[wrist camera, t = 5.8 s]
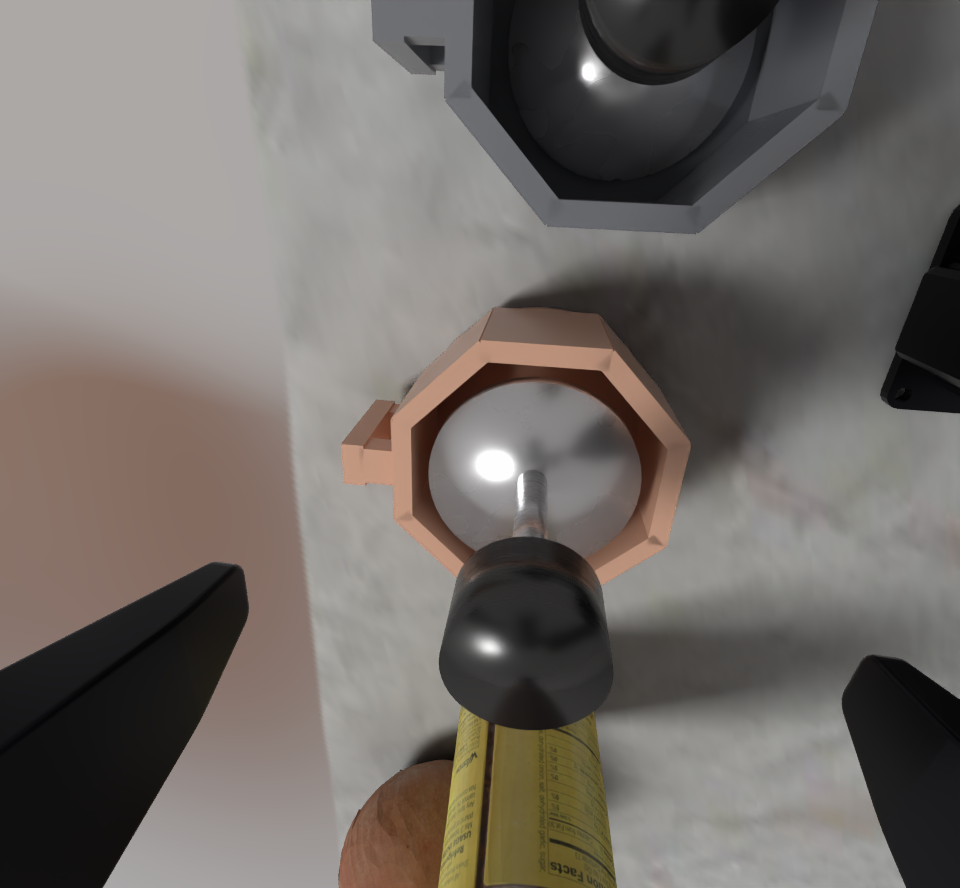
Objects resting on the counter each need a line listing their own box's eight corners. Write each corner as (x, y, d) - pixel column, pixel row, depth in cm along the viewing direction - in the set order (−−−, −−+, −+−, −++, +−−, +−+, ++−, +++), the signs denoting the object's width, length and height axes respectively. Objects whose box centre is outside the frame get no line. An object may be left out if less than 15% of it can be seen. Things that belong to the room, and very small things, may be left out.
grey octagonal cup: (827, -152, 13) (974, -329, 9) (737, 226, 17) (808, 240, 12) (417, -150, 14) (356, -310, 9) (419, 210, 18) (377, 217, 13)
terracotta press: (671, 314, 18) (712, 356, 14) (629, 523, 22) (651, 609, 17) (379, 296, 19) (328, 329, 15) (387, 499, 23) (349, 576, 18)
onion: (505, 710, 32) (587, 872, 23) (475, 838, 34) (540, 1036, 25) (346, 719, 29) (368, 912, 20) (322, 860, 31) (331, 1099, 21)
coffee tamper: (781, -108, 13) (1039, -432, 6) (718, 185, 16) (848, 184, 9) (517, -108, 13) (490, -407, 7) (502, 176, 16) (472, 168, 9)
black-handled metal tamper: (656, 385, 15) (749, 549, 8) (620, 567, 18) (667, 800, 11) (431, 368, 15) (343, 509, 9) (431, 547, 18) (364, 759, 11)
